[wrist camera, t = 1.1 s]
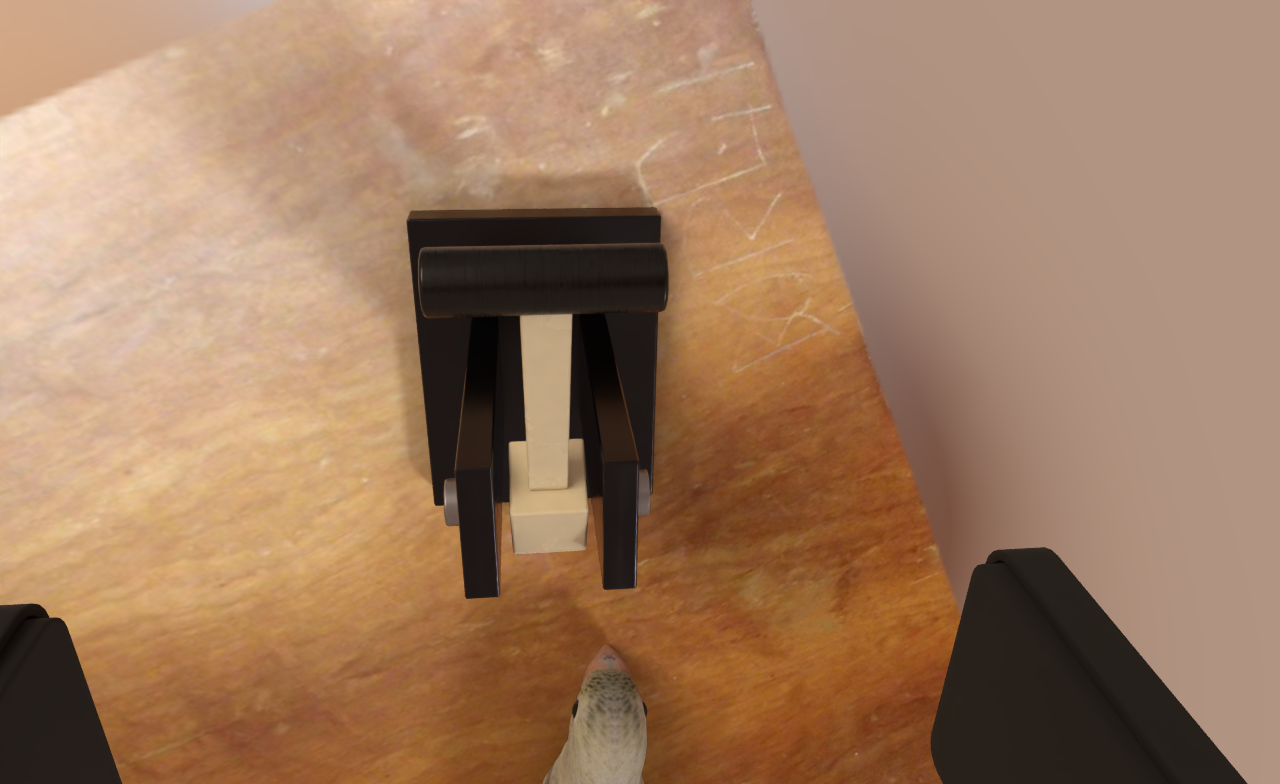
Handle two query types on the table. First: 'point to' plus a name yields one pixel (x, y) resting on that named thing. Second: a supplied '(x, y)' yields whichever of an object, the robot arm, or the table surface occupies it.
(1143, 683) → the robot arm
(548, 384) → the lever handle
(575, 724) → the decorative bird
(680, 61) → the table surface
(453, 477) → the lever stand
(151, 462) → the table surface
